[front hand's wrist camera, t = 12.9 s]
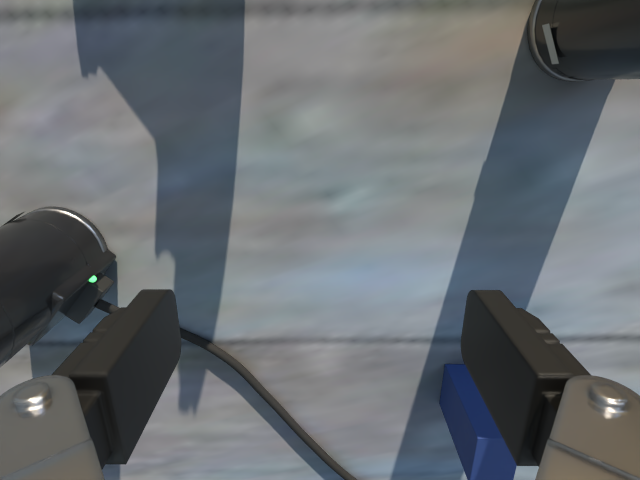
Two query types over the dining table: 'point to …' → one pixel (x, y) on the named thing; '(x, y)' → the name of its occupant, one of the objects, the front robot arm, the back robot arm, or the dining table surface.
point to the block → (473, 428)
